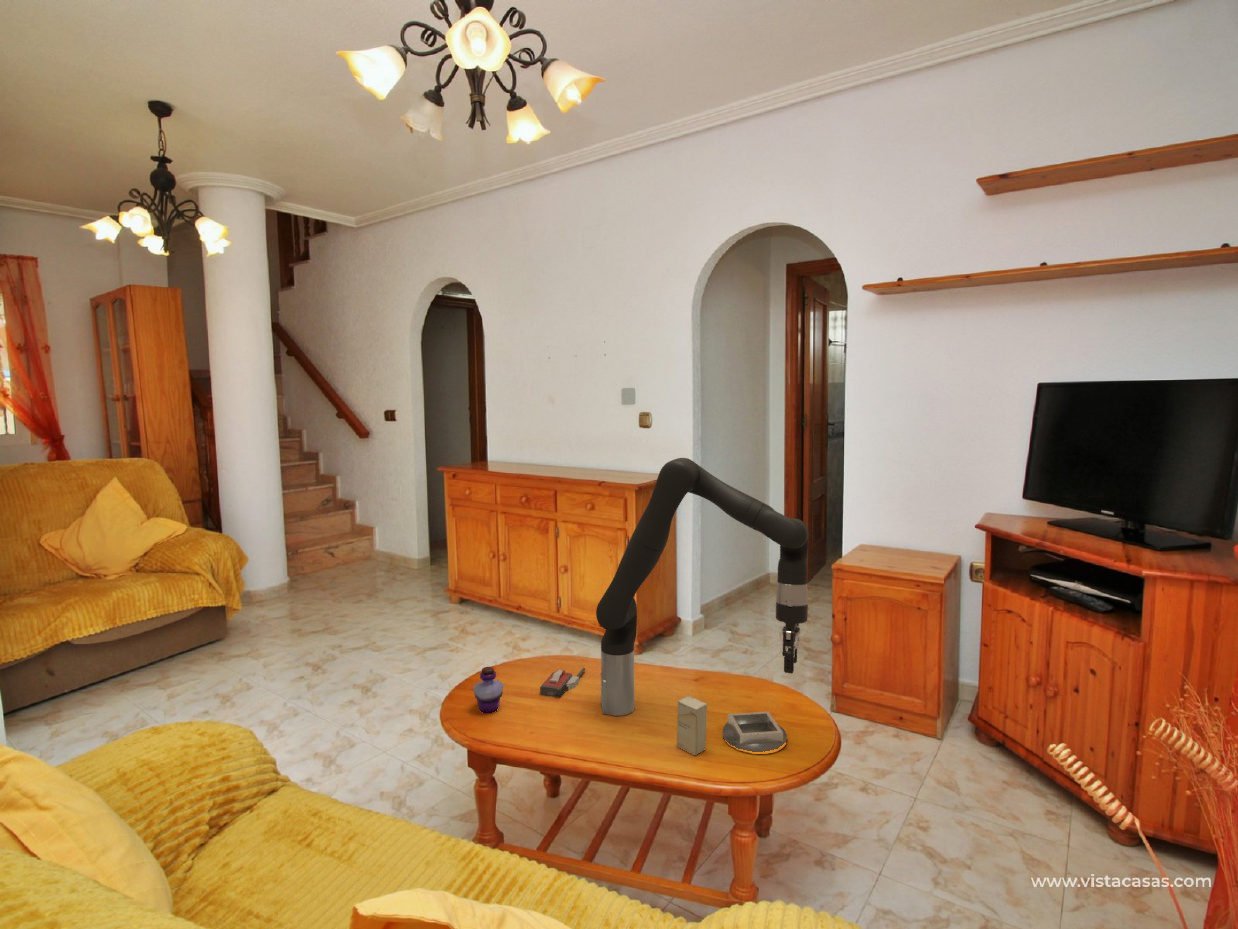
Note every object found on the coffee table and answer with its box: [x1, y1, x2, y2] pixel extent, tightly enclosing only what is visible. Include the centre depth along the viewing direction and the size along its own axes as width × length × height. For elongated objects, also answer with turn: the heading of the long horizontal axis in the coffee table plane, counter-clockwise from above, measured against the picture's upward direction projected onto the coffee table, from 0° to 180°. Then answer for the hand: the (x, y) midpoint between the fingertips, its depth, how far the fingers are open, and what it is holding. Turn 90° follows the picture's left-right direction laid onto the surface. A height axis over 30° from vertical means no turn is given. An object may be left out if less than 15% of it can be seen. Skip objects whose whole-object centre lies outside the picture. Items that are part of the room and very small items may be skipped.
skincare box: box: [676, 695, 708, 756], centre depth 163 cm, size 6×4×12 cm
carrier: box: [722, 711, 788, 752], centre depth 168 cm, size 16×16×4 cm
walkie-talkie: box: [539, 667, 586, 698], centre depth 201 cm, size 9×4×20 cm
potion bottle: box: [472, 666, 505, 714], centre depth 184 cm, size 9×9×12 cm
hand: (790, 667), depth 161 cm, fingers open, 8 cm apart
